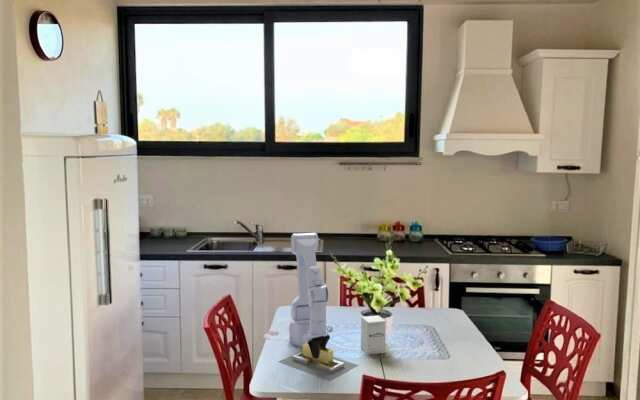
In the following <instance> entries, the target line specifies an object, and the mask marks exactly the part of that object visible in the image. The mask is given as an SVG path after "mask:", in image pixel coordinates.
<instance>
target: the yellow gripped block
mask: <svg viewBox="0 0 640 400" xmlns="http://www.w3.org/2000/svg"><path fill="white" fill-rule="evenodd" d="M302 351H303V358H306V359H309V360H310V363H313V364H315V365H316V364H317V363H321V364H324V365H326V366H329V367H333V357H334V349H332V348H331V349H330V348H327V347H326V348H325V347H322V346H319V355H318V358H317V359H316V358H313V357H312V354H311V350H310V347H309V345H308V343H304V344H303V347H302Z"/></svg>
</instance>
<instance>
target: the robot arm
mask: <svg viewBox="0 0 640 400" xmlns="http://www.w3.org/2000/svg"><path fill="white" fill-rule="evenodd" d="M318 248H319V236H318V233H316V232H310V233H308V232H307V233H306V232H305V233H292V235H291V237H290V250H291V254H293V255H295V257H296V269H297V271H296V272H297V275H296V276H297V296H296V297H295V298H294V299H293V300H292V301H291V307H290V315H291V321H290V323H289V325H288V327H289V328H288V329H289V330H288V331H289V334H288V335H289V340H287V343H290V344H293V345H294V346H295V345H296V346H299V347H302V348H303V344H304V343H308V345H309V347H310V350H311V354H312V357H313V358H316V359H317V358H318V355H319V346H322V347H325V348H327V344H328V342H329V340H330V338H331V336H330V335H329V333H333V332H334V329H333V326H332V325H328V324H327V302H328V300H329V290H328V286H327V285H326V283H325V281H324V278H323V275H322V271H321V268H319V267H318V266H317V257H316V251H317V250H318Z"/></svg>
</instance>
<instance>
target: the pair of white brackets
mask: <svg viewBox="0 0 640 400" xmlns="http://www.w3.org/2000/svg"><path fill="white" fill-rule="evenodd" d="M301 351H302V352H300V351H299V352H300V353H298V352H297V353H298V354H296V353H295V354H296V355H294V354H293V355H294V356H293V360H294V361H297V362H300V363H302V364H305V365H308V364H310V360H309V359H306V358H303V350H301ZM333 366H334V367H329V366H326V365H324V364H321V363H317V364H316V369H319V370H322V371H325V372H328V373H330V374H332V373H334V372H336V371H338V370H340V369H341V368H343V367H344V363H343V362H340V361H337V360H334V359H333Z"/></svg>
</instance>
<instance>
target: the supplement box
mask: <svg viewBox="0 0 640 400" xmlns="http://www.w3.org/2000/svg"><path fill="white" fill-rule="evenodd" d="M360 321H361V322H360V349H361V350H362V351H364V353H365V354H366V355H376V354H385V353H386V328H387V327H386V322H387V321H386V320H385V319H384V318H383V317H382V316H380V315H368V316H361V318H360Z"/></svg>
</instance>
